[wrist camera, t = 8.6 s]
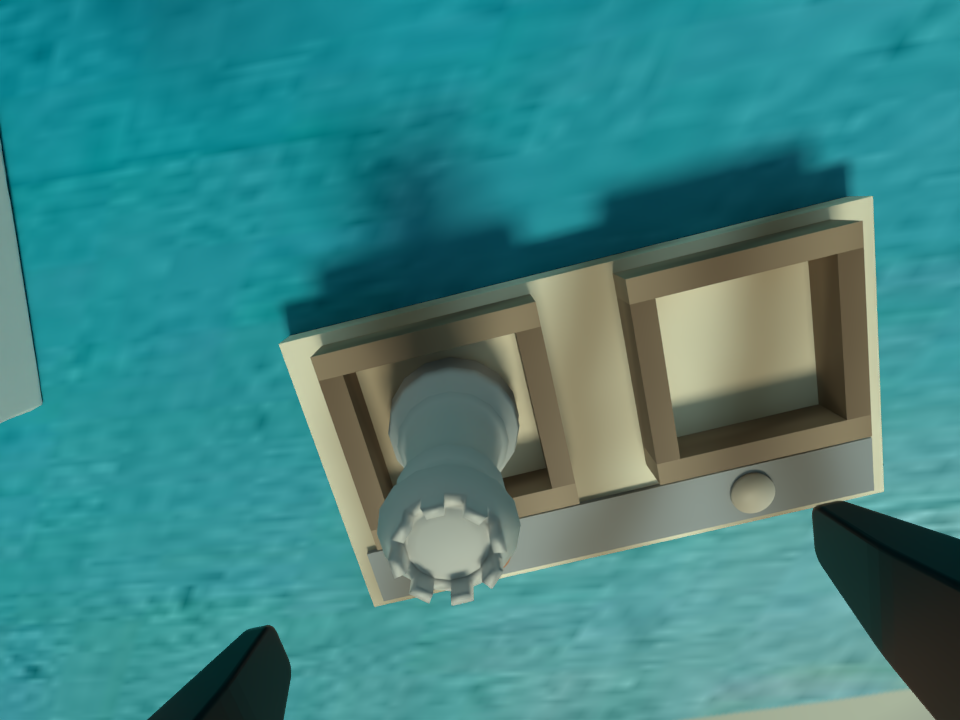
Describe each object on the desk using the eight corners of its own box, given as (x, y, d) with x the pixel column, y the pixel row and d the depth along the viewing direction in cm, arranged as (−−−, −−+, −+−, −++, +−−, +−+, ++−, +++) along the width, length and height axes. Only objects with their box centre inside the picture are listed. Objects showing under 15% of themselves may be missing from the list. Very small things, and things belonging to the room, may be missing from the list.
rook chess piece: (365, 419, 19) (297, 565, 11) (448, 326, 18) (436, 416, 10) (460, 493, 20) (457, 675, 12) (543, 408, 19) (596, 546, 11)
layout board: (847, 196, 18) (909, 195, 16) (861, 476, 22) (915, 513, 19) (289, 335, 19) (262, 356, 17) (379, 585, 22) (367, 636, 20)
